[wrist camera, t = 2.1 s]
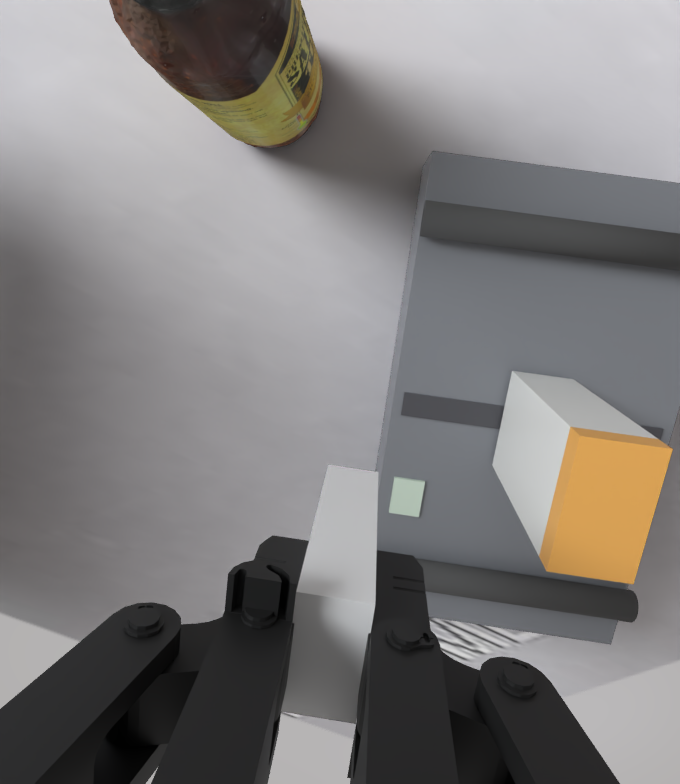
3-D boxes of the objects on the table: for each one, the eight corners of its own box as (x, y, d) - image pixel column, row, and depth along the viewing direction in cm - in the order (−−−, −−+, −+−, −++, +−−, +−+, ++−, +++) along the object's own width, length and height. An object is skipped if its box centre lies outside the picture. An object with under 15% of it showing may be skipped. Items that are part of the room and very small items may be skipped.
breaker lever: (492, 465, 30) (546, 571, 20) (512, 370, 29) (579, 435, 19) (550, 473, 30) (633, 584, 20) (573, 379, 29) (672, 449, 19)
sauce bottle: (339, 131, 32) (284, -28, 13) (233, 166, 33) (37, 63, 14) (304, 3, 31) (185, -385, 12) (195, 43, 32) (-84, -261, 13)
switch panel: (362, 551, 39) (360, 608, 33) (422, 167, 33) (432, 150, 27) (575, 583, 38) (612, 646, 32) (676, 200, 32) (744, 190, 26)
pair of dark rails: (365, 571, 32) (365, 588, 31) (424, 201, 27) (427, 198, 26) (620, 610, 32) (633, 628, 30) (727, 241, 27) (748, 241, 25)
